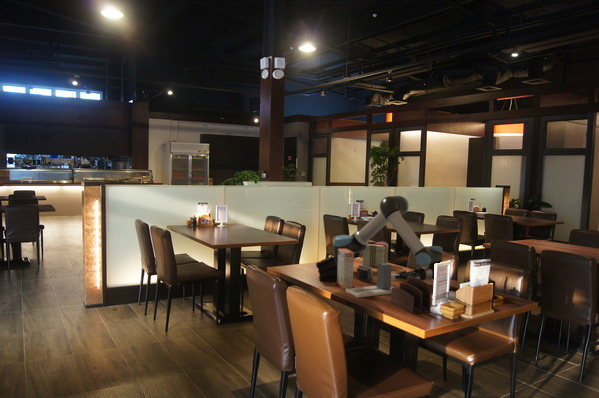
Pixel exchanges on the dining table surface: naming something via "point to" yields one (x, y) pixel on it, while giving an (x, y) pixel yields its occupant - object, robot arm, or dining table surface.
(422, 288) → the letter holder
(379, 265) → the slider knob
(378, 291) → the switch board
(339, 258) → the cracker box
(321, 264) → the black piece
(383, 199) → the robot arm
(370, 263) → the gift box
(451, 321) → the dining table surface
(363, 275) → the electrical switch
